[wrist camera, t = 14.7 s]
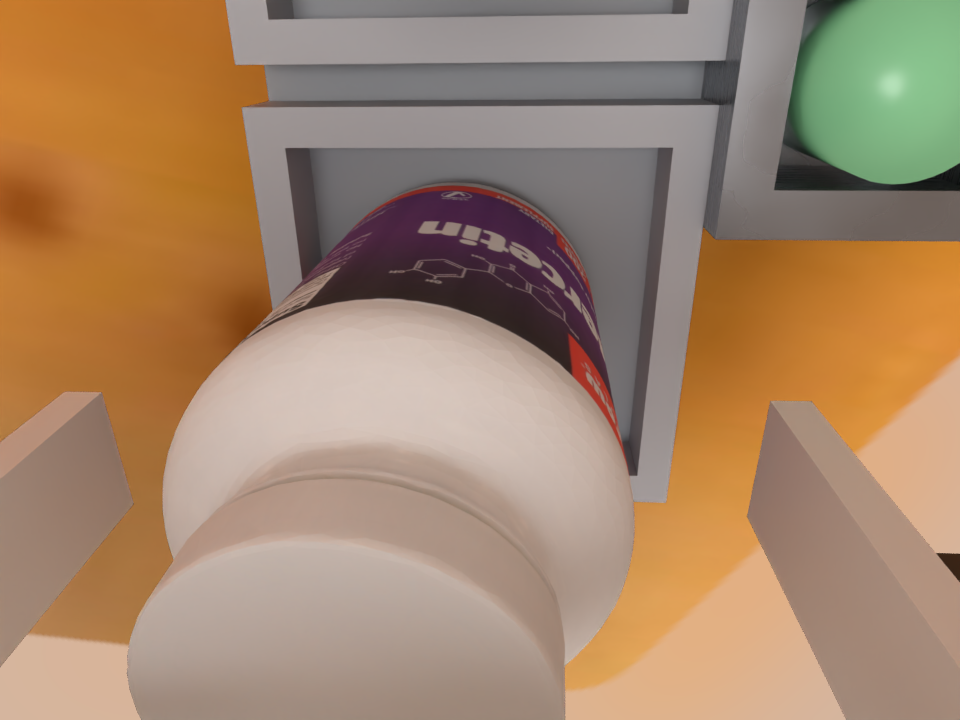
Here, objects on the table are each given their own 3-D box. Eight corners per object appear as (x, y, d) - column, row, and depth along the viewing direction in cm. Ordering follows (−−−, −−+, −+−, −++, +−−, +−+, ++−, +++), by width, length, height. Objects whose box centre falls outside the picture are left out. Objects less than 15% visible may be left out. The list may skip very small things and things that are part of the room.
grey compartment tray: (328, 450, 26) (302, 502, 23) (196, -582, 14) (112, -738, 11) (648, 459, 25) (664, 515, 22) (775, -625, 14) (840, -804, 11)
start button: (749, 156, 19) (801, 184, 15) (775, -8, 17) (840, -20, 13) (898, 156, 18) (987, 184, 15) (939, -10, 17) (1051, -24, 13)
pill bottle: (643, 306, 21) (825, 745, 8) (465, 454, 24) (385, 957, 11) (455, 112, 19) (285, 278, 6) (284, 300, 22) (-84, 692, 9)
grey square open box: (678, 199, 21) (715, 239, 17) (710, -69, 18) (763, -101, 14) (916, 201, 20) (1013, 242, 16) (989, -75, 17) (1132, -110, 13)
